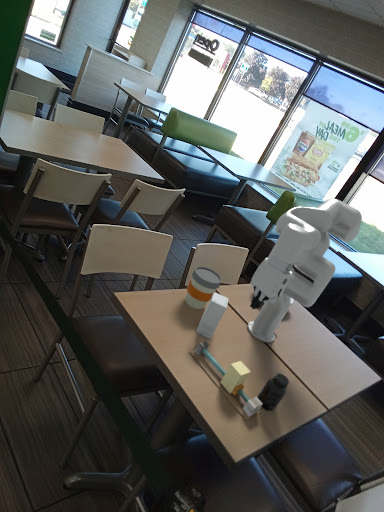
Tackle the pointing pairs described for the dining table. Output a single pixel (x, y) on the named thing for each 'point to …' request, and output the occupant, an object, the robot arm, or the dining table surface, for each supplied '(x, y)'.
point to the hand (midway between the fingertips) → (254, 307)
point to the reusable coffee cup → (202, 287)
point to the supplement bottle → (273, 392)
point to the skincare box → (212, 315)
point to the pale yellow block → (235, 376)
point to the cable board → (216, 373)
